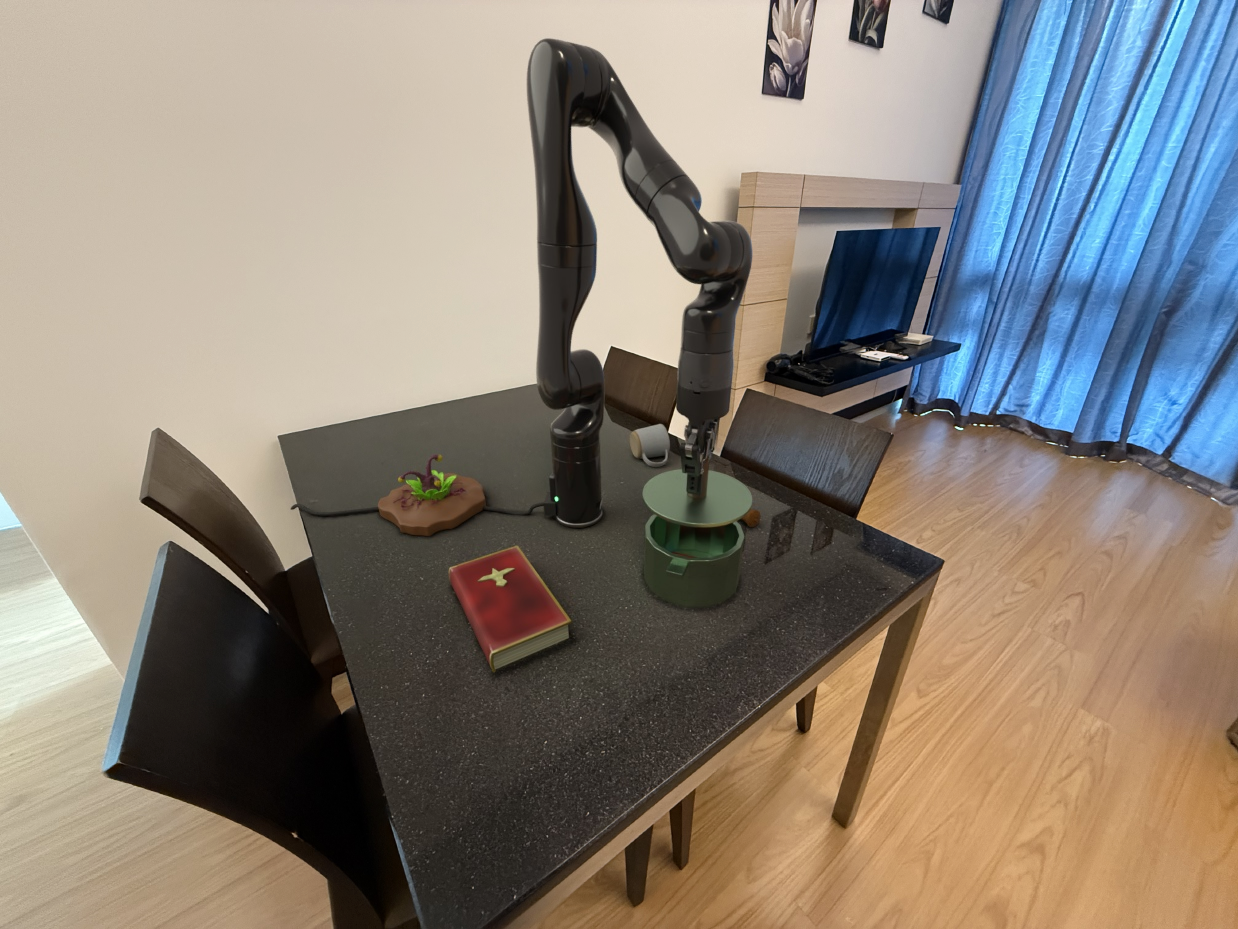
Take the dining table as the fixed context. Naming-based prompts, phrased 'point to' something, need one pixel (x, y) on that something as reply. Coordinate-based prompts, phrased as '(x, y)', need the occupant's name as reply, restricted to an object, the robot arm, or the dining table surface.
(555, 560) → the dining table surface
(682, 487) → the lid
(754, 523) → the primitive tool
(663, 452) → the ceramic mug
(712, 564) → the pot
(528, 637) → the hardcover book
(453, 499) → the plant
